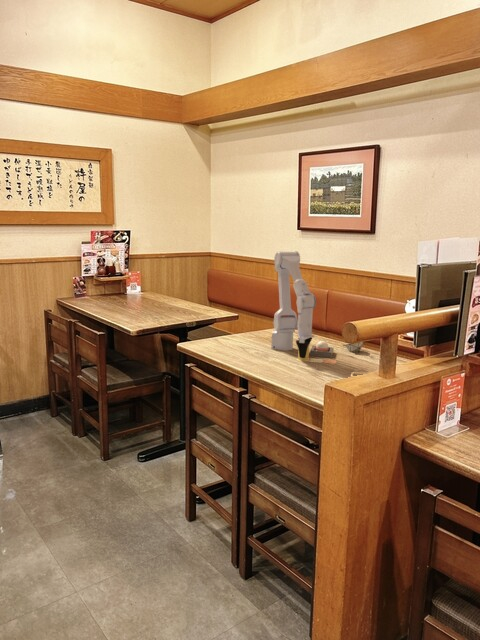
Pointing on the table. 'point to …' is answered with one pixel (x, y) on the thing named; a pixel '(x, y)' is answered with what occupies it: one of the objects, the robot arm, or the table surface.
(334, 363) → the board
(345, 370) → the table surface
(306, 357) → the yellow upright block
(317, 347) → the dome
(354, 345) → the grey rock
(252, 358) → the table surface
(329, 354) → the grey square tray
